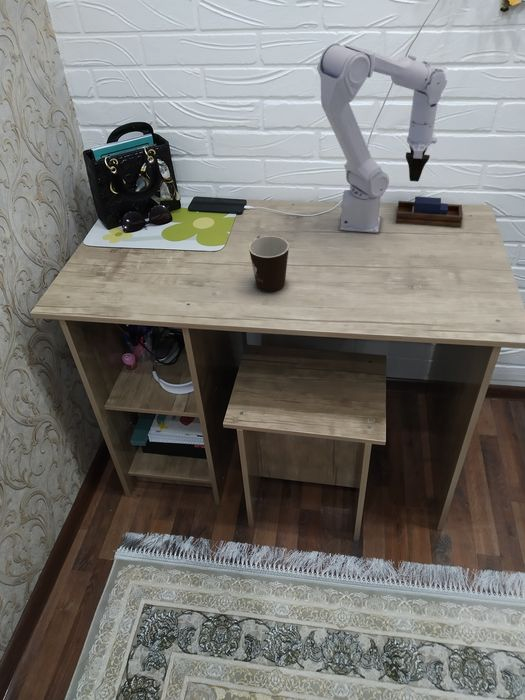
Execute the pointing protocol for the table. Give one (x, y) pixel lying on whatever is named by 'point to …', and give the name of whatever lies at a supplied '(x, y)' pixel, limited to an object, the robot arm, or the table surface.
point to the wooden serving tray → (429, 216)
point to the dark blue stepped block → (430, 205)
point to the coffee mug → (269, 262)
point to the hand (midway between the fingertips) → (414, 173)
